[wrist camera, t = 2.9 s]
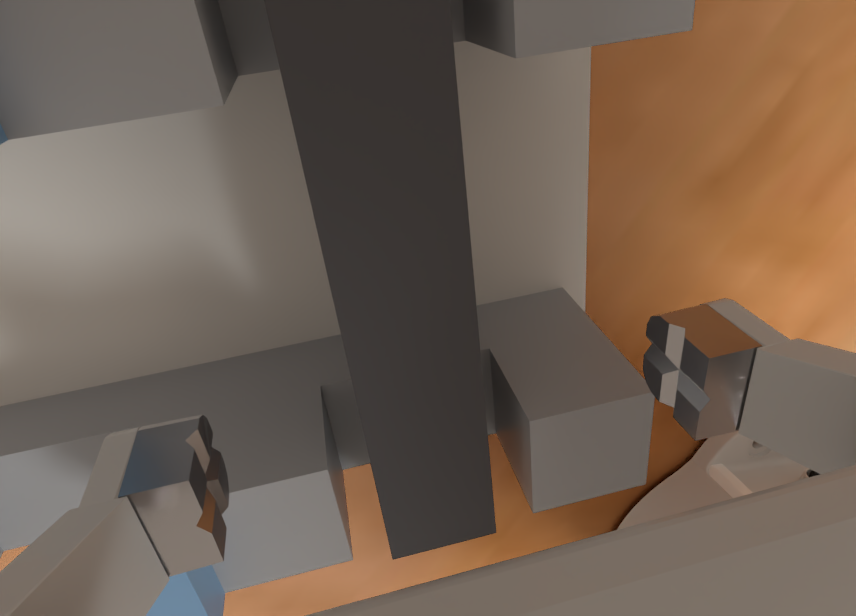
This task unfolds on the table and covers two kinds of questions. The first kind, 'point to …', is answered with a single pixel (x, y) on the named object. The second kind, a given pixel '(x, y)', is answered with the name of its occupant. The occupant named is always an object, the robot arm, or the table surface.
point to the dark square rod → (396, 248)
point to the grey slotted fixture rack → (279, 266)
